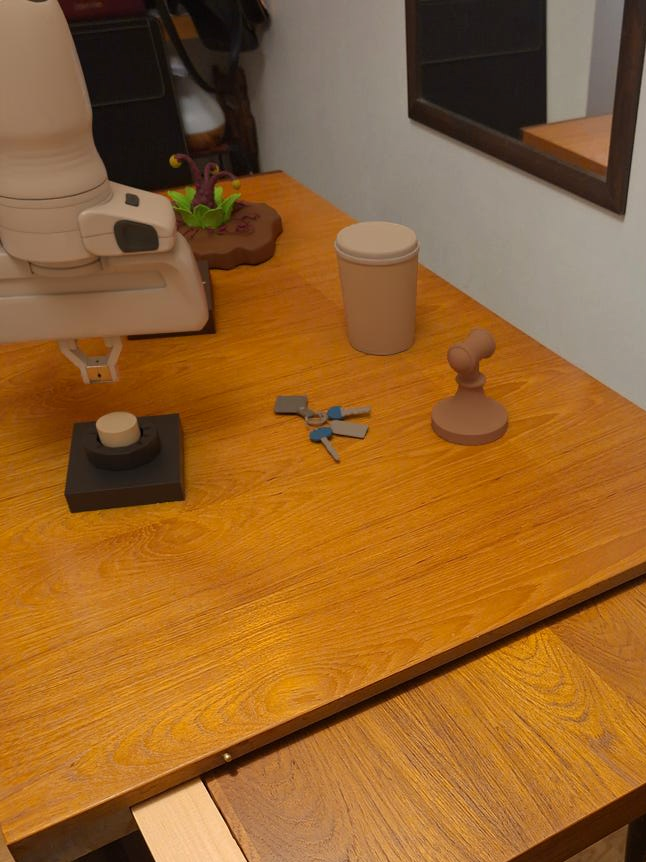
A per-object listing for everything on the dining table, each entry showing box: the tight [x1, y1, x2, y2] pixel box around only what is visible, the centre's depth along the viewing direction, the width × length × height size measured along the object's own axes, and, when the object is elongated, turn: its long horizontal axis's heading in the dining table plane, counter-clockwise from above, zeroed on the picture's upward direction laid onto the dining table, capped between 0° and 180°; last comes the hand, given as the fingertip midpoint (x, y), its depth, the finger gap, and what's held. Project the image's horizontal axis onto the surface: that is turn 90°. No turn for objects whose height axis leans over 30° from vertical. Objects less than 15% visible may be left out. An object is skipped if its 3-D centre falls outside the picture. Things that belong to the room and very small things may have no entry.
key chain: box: [273, 395, 372, 461], centre depth 93 cm, size 14×8×1 cm, turn 40°
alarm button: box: [96, 411, 141, 448], centre depth 83 cm, size 4×4×2 cm
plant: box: [167, 152, 283, 271], centre depth 121 cm, size 20×20×11 cm
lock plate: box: [126, 260, 217, 341], centre depth 109 cm, size 10×14×3 cm
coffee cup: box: [333, 220, 421, 356], centre depth 102 cm, size 9×9×12 cm
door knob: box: [430, 326, 509, 446], centre depth 91 cm, size 8×10×8 cm
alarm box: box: [63, 412, 186, 514], centre depth 85 cm, size 10×12×4 cm
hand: (102, 379), depth 80 cm, fingers closed
